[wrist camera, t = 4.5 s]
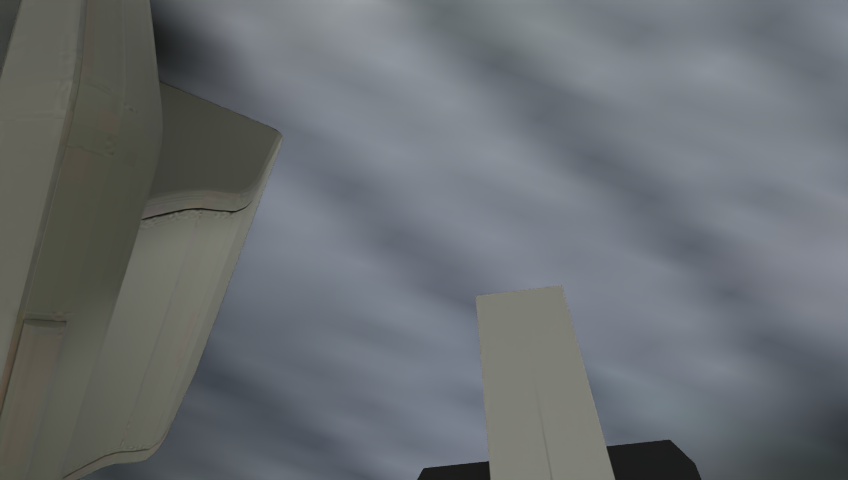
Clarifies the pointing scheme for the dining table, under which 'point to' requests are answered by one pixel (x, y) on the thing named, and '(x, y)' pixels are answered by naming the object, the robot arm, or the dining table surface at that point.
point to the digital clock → (109, 236)
